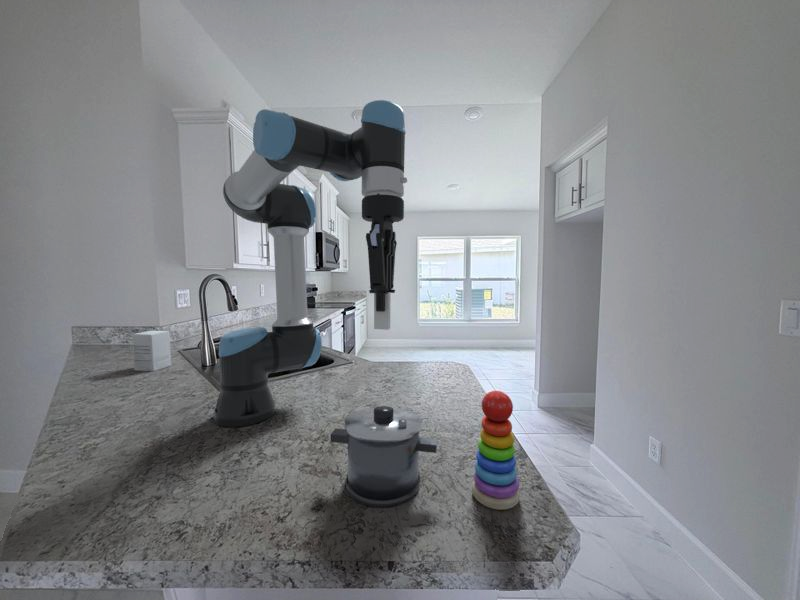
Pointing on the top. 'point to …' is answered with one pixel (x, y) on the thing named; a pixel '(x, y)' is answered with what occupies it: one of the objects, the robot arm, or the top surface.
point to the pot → (383, 468)
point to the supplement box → (151, 350)
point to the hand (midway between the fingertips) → (382, 328)
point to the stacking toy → (496, 455)
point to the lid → (383, 424)
